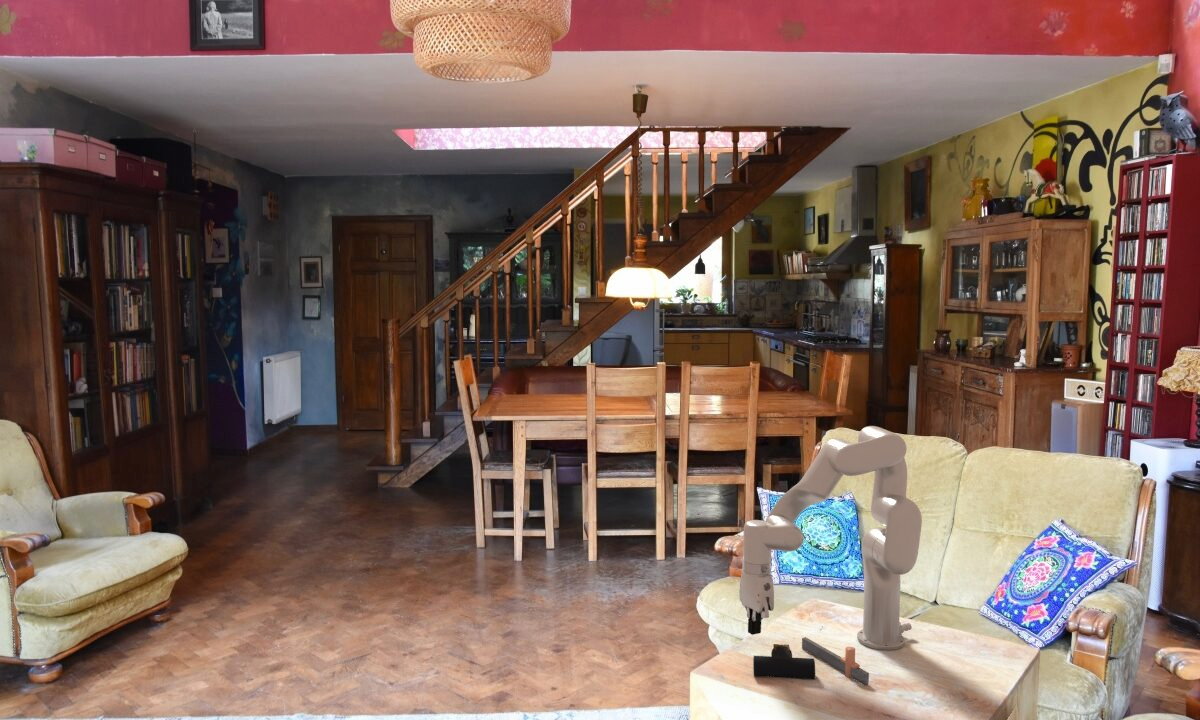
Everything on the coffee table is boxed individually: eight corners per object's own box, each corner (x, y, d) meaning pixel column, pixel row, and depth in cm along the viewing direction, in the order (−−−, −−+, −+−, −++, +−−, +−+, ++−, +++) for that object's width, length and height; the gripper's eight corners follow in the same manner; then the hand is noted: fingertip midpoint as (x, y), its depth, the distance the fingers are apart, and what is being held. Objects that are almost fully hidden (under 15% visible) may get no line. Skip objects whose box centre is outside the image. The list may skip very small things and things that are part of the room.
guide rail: (807, 647, 233) (807, 622, 232) (870, 684, 211) (871, 656, 211) (800, 648, 232) (800, 624, 231) (863, 686, 210) (863, 658, 210)
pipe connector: (752, 640, 226) (810, 643, 224) (752, 659, 226) (810, 662, 224) (754, 660, 214) (815, 663, 212) (754, 680, 215) (815, 683, 213)
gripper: (785, 573, 224) (782, 641, 226) (751, 557, 238) (749, 620, 239) (762, 577, 221) (759, 645, 223) (729, 560, 234) (727, 625, 236)
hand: (754, 632), depth 231 cm, fingers closed
